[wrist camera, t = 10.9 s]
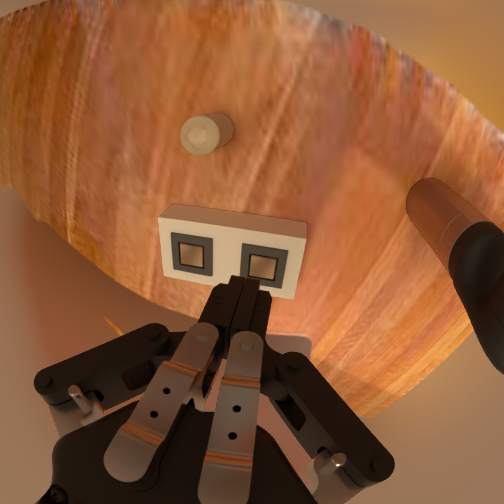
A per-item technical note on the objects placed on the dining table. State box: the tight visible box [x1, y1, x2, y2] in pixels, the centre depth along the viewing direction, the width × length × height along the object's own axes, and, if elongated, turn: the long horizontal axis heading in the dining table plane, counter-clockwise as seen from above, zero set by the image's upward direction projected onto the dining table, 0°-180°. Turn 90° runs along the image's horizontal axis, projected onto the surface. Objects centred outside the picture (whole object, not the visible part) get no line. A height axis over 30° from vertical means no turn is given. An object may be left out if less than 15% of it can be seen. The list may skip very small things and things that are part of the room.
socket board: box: [158, 204, 307, 299], centre depth 47 cm, size 24×12×7 cm, turn 85°
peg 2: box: [249, 254, 277, 279], centre depth 47 cm, size 4×4×7 cm
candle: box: [180, 113, 234, 156], centre depth 36 cm, size 6×6×10 cm
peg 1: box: [180, 242, 204, 267], centre depth 48 cm, size 4×4×7 cm
